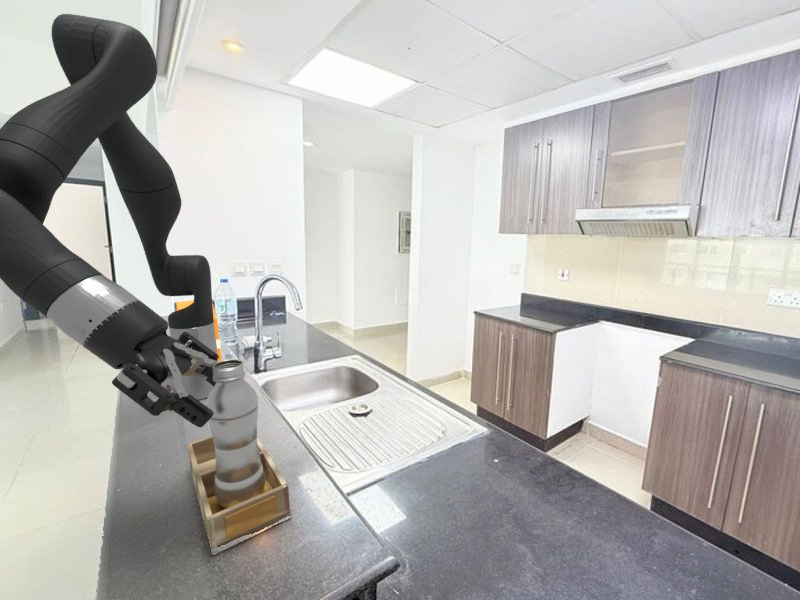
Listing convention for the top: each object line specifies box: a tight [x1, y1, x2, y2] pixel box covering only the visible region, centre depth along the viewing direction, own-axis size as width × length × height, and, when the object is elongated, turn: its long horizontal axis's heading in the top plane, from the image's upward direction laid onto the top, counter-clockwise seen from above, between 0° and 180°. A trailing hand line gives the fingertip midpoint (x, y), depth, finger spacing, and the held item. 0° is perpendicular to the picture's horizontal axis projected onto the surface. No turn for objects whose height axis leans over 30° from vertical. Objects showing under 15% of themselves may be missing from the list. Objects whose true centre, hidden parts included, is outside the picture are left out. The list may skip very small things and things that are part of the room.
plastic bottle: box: [205, 359, 265, 509], centre depth 48 cm, size 6×7×20 cm
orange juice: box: [176, 299, 223, 362], centre depth 101 cm, size 8×9×20 cm
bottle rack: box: [186, 435, 291, 549], centre depth 53 cm, size 20×10×5 cm, turn 37°
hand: (221, 403), depth 46 cm, fingers open, 8 cm apart
